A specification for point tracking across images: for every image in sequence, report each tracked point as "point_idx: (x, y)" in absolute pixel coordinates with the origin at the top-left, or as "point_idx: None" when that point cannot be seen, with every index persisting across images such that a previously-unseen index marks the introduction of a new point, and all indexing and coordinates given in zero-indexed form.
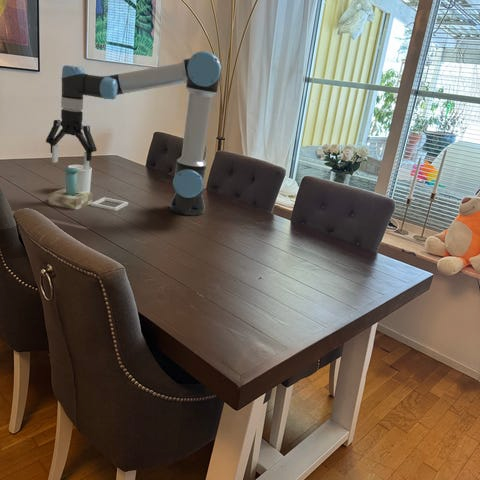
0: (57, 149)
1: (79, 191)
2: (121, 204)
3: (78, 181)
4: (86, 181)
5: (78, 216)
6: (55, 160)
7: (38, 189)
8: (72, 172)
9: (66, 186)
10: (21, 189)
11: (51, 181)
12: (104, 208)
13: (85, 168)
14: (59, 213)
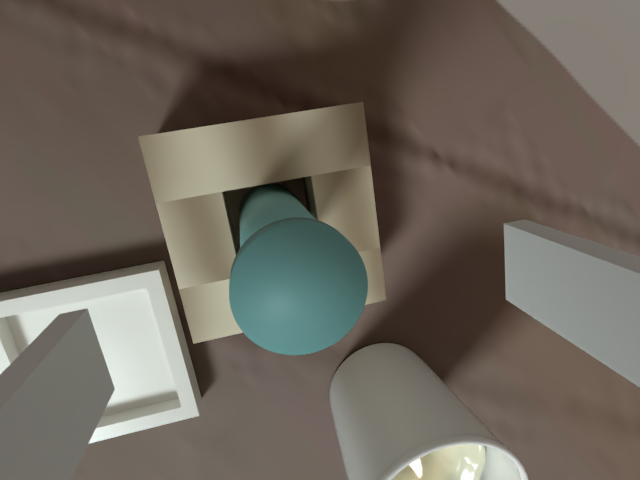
0: (637, 368)
1: None
2: None
3: (377, 404)
4: (346, 445)
5: (78, 77)
6: (519, 261)
7: None
8: (243, 246)
9: (293, 203)
10: (615, 224)
11: (596, 423)
12: (61, 285)
13: (53, 321)
14: (199, 40)
